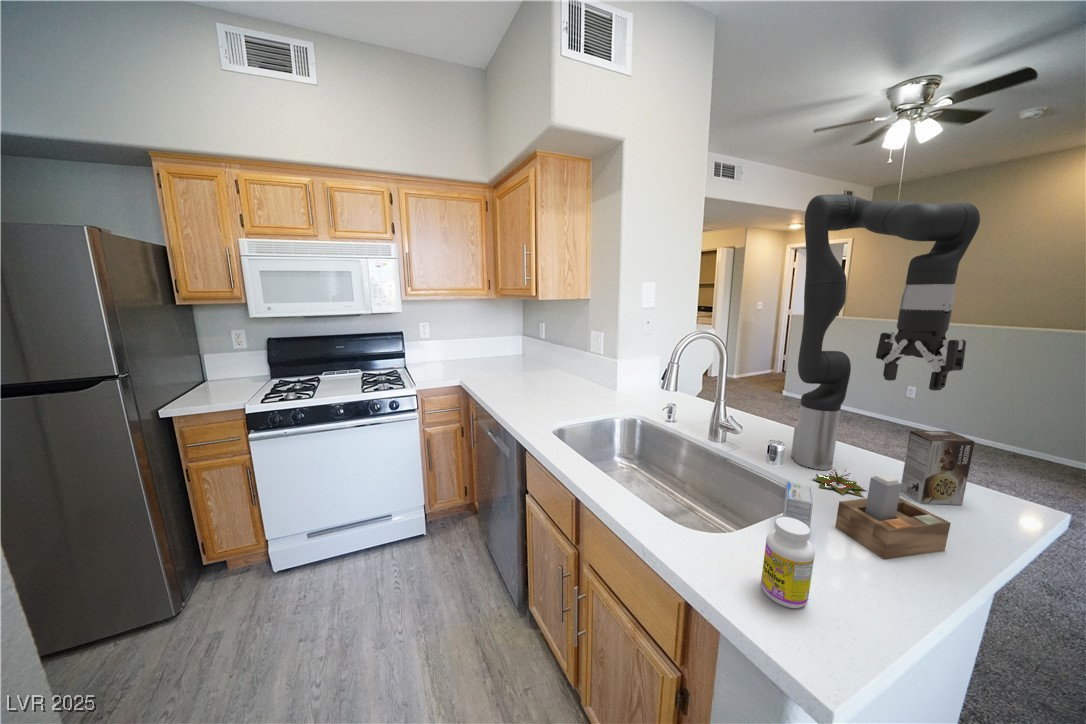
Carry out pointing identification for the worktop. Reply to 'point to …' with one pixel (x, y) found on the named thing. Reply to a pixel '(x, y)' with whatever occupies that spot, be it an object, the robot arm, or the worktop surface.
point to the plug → (883, 497)
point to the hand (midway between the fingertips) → (911, 384)
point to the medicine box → (798, 503)
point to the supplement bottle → (788, 563)
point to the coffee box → (937, 467)
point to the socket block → (893, 529)
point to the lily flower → (840, 481)
